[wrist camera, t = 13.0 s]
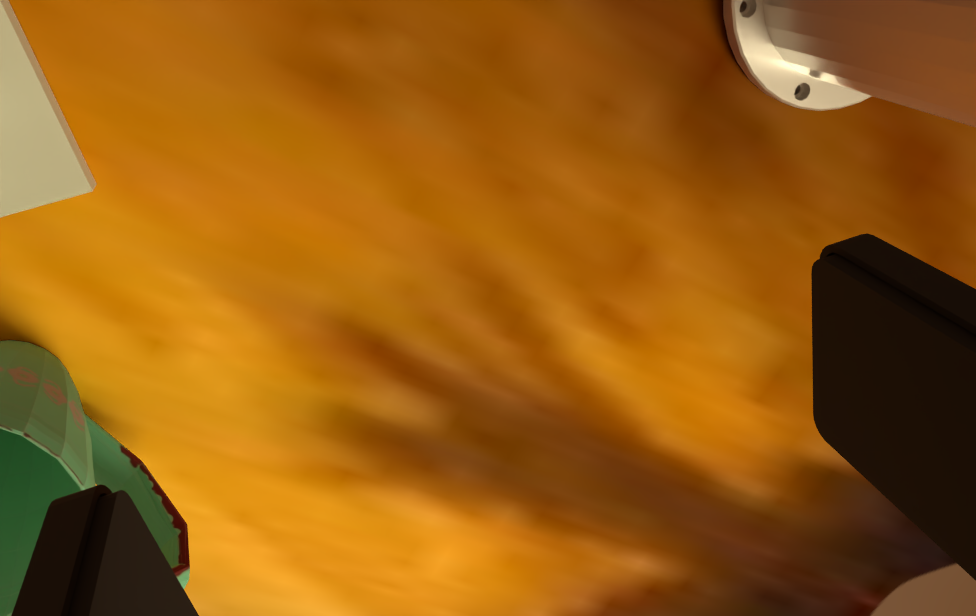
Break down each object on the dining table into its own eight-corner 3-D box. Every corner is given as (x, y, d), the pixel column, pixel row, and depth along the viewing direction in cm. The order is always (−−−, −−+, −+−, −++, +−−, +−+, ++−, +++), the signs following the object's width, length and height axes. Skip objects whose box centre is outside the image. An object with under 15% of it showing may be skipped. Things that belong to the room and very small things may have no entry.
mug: (-155, 407, 36) (-284, 565, 27) (-30, 248, 34) (-125, 361, 26) (138, 540, 43) (109, 699, 34) (253, 412, 41) (253, 545, 33)
